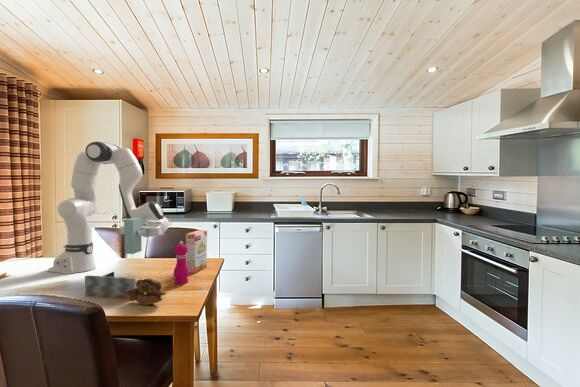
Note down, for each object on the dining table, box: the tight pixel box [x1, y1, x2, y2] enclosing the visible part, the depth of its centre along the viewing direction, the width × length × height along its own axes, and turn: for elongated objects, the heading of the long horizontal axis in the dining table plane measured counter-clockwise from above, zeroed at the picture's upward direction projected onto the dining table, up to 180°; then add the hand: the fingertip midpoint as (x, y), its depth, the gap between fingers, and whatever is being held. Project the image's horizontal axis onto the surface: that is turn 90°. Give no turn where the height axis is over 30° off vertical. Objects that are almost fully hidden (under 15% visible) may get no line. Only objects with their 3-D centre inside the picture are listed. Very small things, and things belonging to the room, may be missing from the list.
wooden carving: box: [127, 277, 167, 306], centre depth 130 cm, size 16×5×10 cm, turn 80°
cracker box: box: [185, 229, 208, 274], centre depth 179 cm, size 14×6×21 cm, turn 168°
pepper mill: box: [173, 240, 190, 285], centre depth 157 cm, size 7×7×20 cm
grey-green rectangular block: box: [123, 218, 143, 255], centre depth 157 cm, size 4×6×16 cm
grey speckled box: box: [84, 271, 138, 300], centre depth 145 cm, size 22×18×8 cm
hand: (131, 232), depth 156 cm, fingers closed on grey-green rectangular block, 4 cm apart
